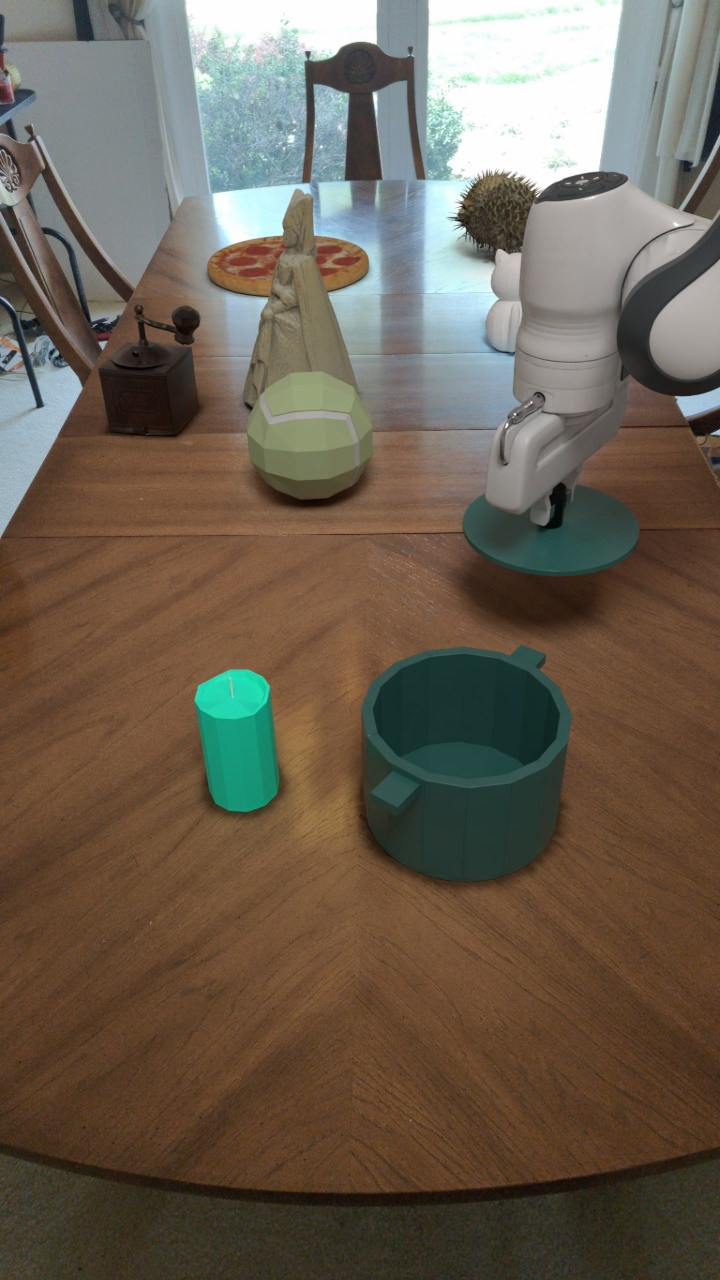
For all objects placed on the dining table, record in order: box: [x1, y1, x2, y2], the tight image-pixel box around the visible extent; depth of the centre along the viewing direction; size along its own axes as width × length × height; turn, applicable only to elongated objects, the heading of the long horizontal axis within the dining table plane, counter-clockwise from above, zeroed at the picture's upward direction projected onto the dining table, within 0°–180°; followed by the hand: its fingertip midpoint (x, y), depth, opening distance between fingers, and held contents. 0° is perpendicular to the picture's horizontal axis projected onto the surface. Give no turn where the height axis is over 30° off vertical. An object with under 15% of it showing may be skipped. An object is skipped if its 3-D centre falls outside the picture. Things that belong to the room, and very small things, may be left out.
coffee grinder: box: [97, 303, 202, 436], centre depth 136 cm, size 16×11×18 cm
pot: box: [360, 644, 573, 883], centre depth 78 cm, size 16×21×10 cm
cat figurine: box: [485, 249, 522, 353], centre depth 156 cm, size 9×12×15 cm
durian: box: [446, 167, 544, 261], centre depth 194 cm, size 17×25×20 cm
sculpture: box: [243, 188, 359, 409], centre depth 141 cm, size 17×18×30 cm
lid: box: [462, 482, 641, 577], centre depth 94 cm, size 17×17×5 cm
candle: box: [194, 669, 281, 813], centre depth 80 cm, size 6×6×12 cm
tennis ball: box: [246, 371, 374, 500], centre depth 120 cm, size 15×15×15 cm
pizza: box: [206, 234, 370, 297], centre depth 194 cm, size 32×32×3 cm
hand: (551, 512), depth 95 cm, fingers closed on lid, 2 cm apart
